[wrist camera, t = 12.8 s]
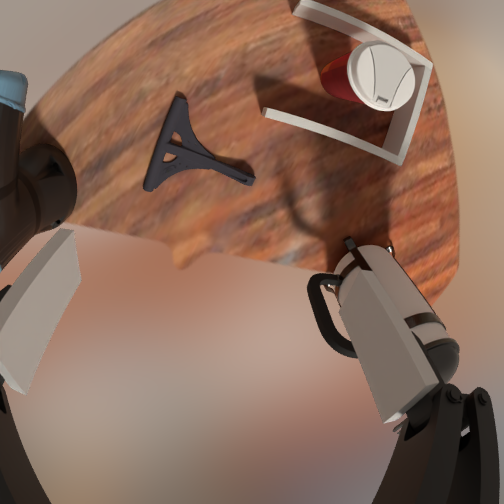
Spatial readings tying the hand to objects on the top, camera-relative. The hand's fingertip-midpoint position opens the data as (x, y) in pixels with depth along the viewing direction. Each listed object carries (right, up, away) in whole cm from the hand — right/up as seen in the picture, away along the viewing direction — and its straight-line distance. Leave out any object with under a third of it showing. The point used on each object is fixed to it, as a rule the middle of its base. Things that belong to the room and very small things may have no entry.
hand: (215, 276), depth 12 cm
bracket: (-5, +14, +26) cm, 30 cm away
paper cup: (+14, +25, +20) cm, 35 cm away
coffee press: (+20, -2, +37) cm, 42 cm away
